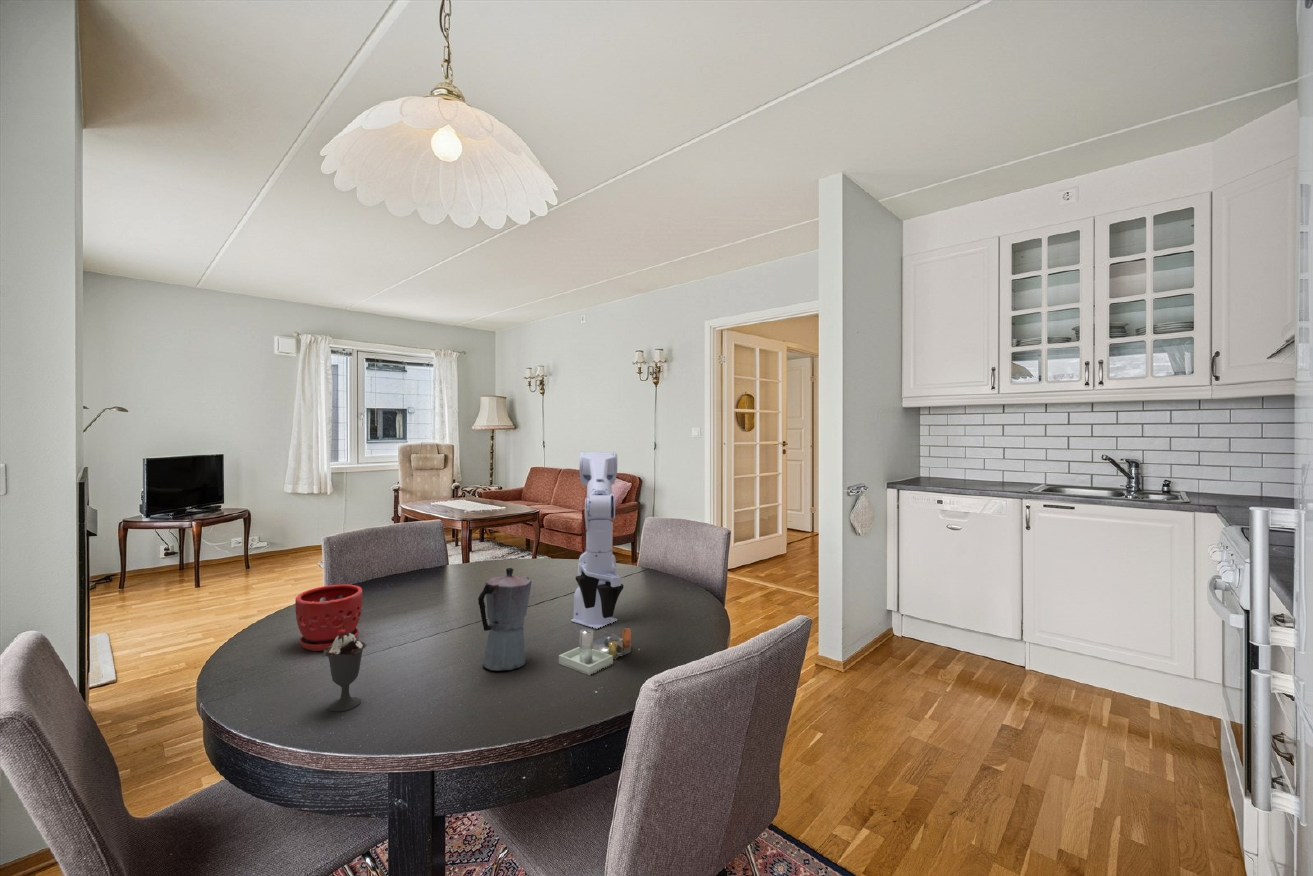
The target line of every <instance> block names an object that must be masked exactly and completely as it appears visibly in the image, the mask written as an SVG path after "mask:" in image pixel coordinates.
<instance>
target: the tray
mask: <svg viewBox="0 0 1313 876" xmlns="http://www.w3.org/2000/svg"><path fill="white" fill-rule="evenodd" d="M579 650H580V646H578V647H575V648H573V649H570V650H568V651H566V652H564V653H561V654H559V655H558V664H559V665H560V666H564V667H566V668H568V669H571V670H573V671H576V672H579V673H581V674H583V675H586V674H587V676H589V677H590V676H591V674H592V675H593V673H594V674H595V673H597V671H598V672H600V671H602V670H603V669H602V668H604V669H606V668H608V667H610V666H611V665H610V664H612V665H613V664H614V660H613V656H612V655H609V654H606V653H603V652H601V651H598V650H595V649H593V662H592V663H590V664H584V663H581V662H579ZM609 665H610V666H609ZM607 666H608V667H607ZM605 667H606V668H605ZM601 669H602V670H601ZM599 670H600V671H599Z"/></svg>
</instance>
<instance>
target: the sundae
mask: <svg viewBox="0 0 1313 876" xmlns="http://www.w3.org/2000/svg"><path fill="white" fill-rule="evenodd" d="M338 621H340V622H341V620H340V619H338ZM341 623H342V622H341ZM367 646H368V644H366V643H365V642H363V641H361V640H358V639H357V638H355V636H354V635H353V634H352V633H350V632H347V631H345V630H344V625H343V623H342V629H341V630H339V631H338V636H337V637H336V638H335V640H334V642H333V644H332V646H329V647H326V648H325V649H324V651H323V656H324V657H328V661H329V668H330V675H331V679H332V682H333V683H334V684H336V685H338V686H340V688H341V692H340V693H341V694H340V698H339V699H336V700H335V701H333V702H331V704H329V706H328V709H329V710H330V711H331V712H345V711H350V710H352V709H355V708H356V707H358V706H359V705H360V704H361V703H362V699H361V698H360V697H357V696H351V694H350V685H351V684H352V683H353V682H355V681H356V679H357V678H358V676H359V673H360V668H361V663H362V662H361V661H362V657H363V656H362V655H363V650H364V649H365V648H367Z"/></svg>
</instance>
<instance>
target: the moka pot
mask: <svg viewBox="0 0 1313 876" xmlns="http://www.w3.org/2000/svg"><path fill="white" fill-rule="evenodd" d="M505 570H506V572H505V573H506V575H503V576H502V575H501V576H496V577H491V578H489V579H488V580H487V581H486V582H485V585H484V587H483V589H482V591H481V592H480V594H479V595H478V597H477V599H478V605H479V610H480V617H481V620H482V626H483V631H484V632H487V631H488V633H487V638H486V644H485V648H484V653H483V659H482V666H483V667H484V668H485V669H487V670H489V671H495V672H496V671H498V672H500V671H501V672H502V671H503V672H504V671H512V670H516V669H519V668H521V667H523V666H525V664H526V651H525V650H526V649H525V635H524V634H525V633H524V624H525V617H526V616H527V611H528V606H529V599H530V593H531V588H532V579H530V577H529V576H525V575H513V573H514V568H512V567H507V568H506V569H505ZM485 598H486V604H485ZM487 618H488V619H487ZM488 621H489V622H488Z"/></svg>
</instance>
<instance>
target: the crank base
mask: <svg viewBox="0 0 1313 876" xmlns="http://www.w3.org/2000/svg"><path fill="white" fill-rule="evenodd" d="M618 639H619V640H620V641H622V637H619V636H618ZM593 649H595V650H598V651H601V652H603V653H606V654H609V655H612V656H613V659H615V658H616V657H617V656H619V655H624V654H623V653H621V652H619V651H618V650H617V642H616V641H610V642H609V646H607V645H605V644H604V637H600V638H597V639H595V640H593ZM617 658H618V657H617ZM615 660H616V659H615Z"/></svg>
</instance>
